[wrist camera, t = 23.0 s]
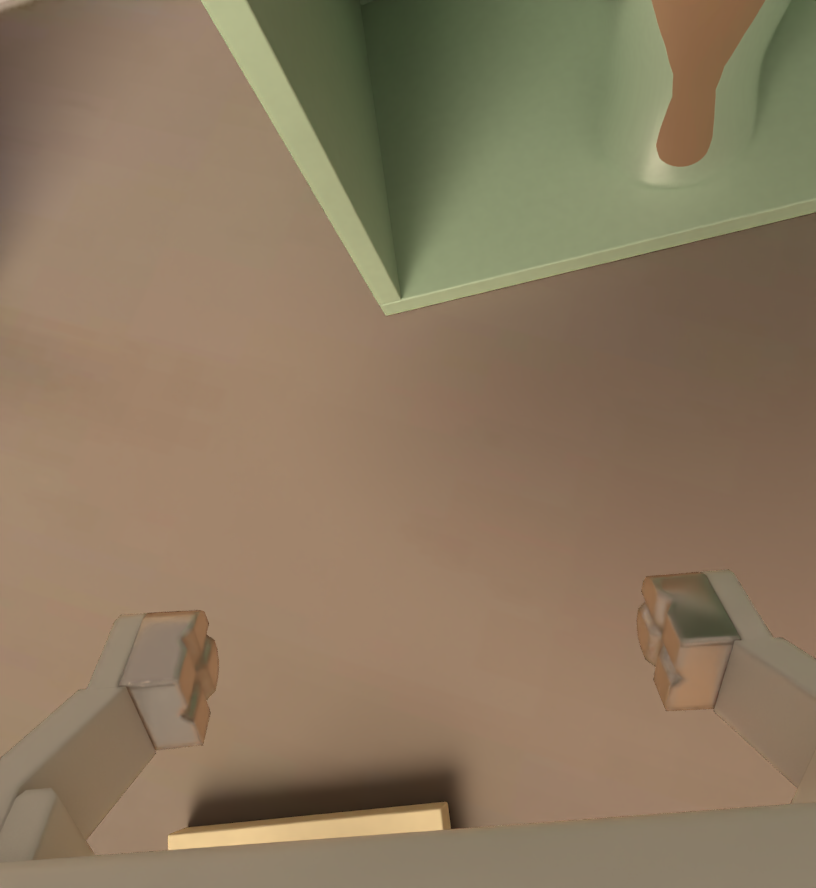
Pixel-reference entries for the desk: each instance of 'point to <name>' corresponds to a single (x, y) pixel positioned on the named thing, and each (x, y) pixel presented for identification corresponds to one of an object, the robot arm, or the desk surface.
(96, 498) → the desk surface
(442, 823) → the control box
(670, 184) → the beer glass
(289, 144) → the green cabinet
